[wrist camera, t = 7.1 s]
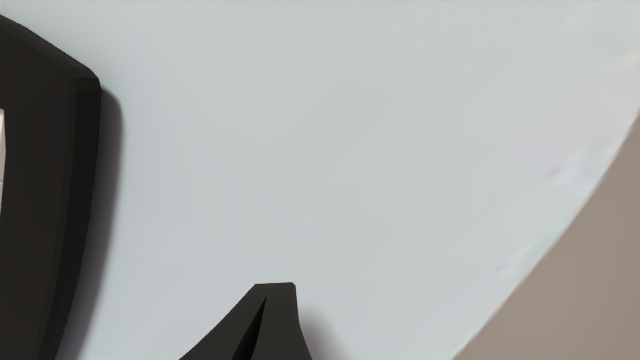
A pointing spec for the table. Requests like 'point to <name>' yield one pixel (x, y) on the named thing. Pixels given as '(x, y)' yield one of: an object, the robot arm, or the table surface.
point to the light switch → (42, 187)
